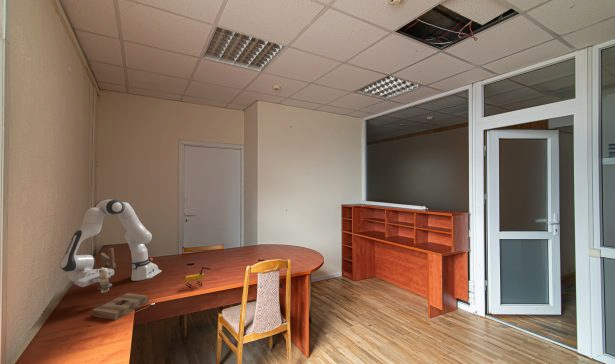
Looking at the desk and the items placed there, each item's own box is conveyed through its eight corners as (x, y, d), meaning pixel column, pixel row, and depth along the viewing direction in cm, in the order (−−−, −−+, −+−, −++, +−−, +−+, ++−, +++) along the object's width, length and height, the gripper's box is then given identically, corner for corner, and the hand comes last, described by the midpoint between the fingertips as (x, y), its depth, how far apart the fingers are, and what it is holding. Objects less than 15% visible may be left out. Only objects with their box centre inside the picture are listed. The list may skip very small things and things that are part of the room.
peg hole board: (127, 298, 184) (127, 293, 184) (148, 301, 179) (148, 295, 179) (93, 316, 164) (92, 309, 163) (115, 320, 158) (115, 313, 158)
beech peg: (106, 288, 183) (104, 266, 182) (115, 289, 181) (113, 267, 180) (95, 293, 176) (92, 271, 175) (103, 294, 173) (101, 272, 172)
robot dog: (211, 285, 201) (210, 267, 200) (184, 289, 195) (183, 271, 194) (211, 282, 206) (210, 264, 205) (185, 286, 200) (184, 268, 199)
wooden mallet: (104, 267, 248) (102, 248, 247) (116, 267, 248) (114, 247, 247) (101, 269, 245) (99, 249, 244) (113, 268, 244) (111, 248, 243)
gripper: (71, 278, 172) (87, 280, 167) (104, 266, 191) (119, 267, 187) (72, 288, 172) (88, 290, 168) (105, 275, 191) (120, 276, 187)
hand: (105, 278), depth 177 cm, fingers closed on beech peg, 4 cm apart
